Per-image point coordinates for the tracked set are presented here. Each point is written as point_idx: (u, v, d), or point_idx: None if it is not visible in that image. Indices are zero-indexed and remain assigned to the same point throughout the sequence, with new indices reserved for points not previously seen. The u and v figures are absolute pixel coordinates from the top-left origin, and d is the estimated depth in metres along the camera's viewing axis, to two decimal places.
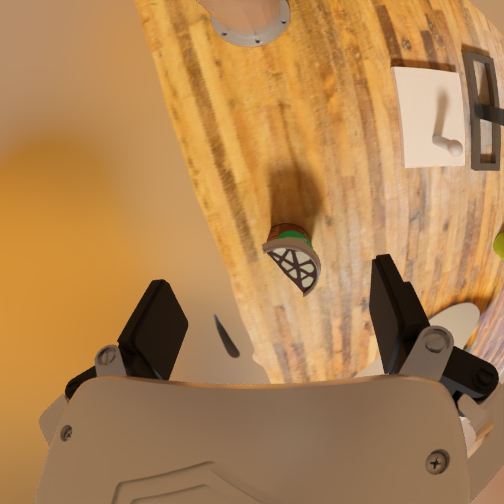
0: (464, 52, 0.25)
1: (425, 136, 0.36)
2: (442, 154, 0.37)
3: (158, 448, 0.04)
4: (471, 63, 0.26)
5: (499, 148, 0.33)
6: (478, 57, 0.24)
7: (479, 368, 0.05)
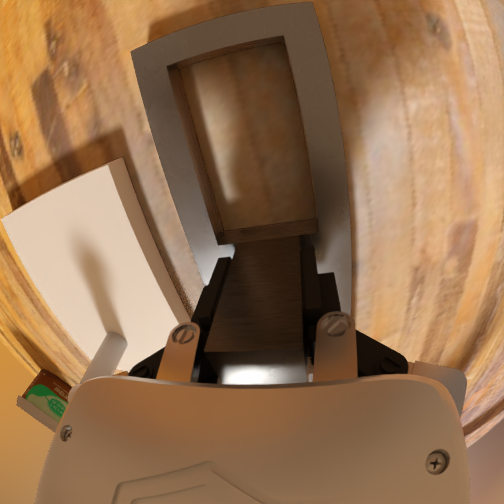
0: None
1: (95, 333, 0.20)
2: None
3: (158, 448, 0.04)
4: (160, 88, 0.10)
5: None
6: (204, 37, 0.08)
7: (387, 358, 0.07)
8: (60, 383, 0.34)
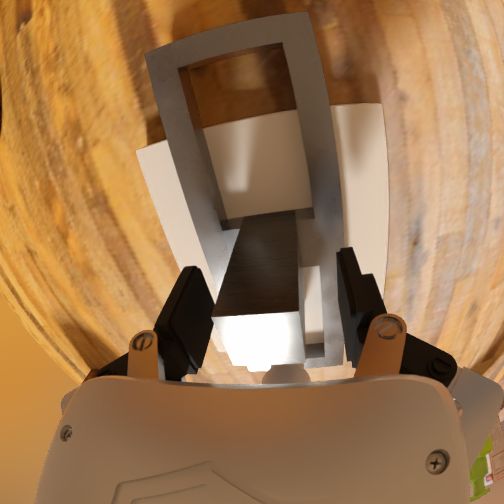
0: None
1: None
2: (310, 330, 0.20)
3: (158, 448, 0.04)
4: (172, 88, 0.11)
5: (340, 328, 0.18)
6: (212, 42, 0.09)
7: (436, 357, 0.06)
8: None
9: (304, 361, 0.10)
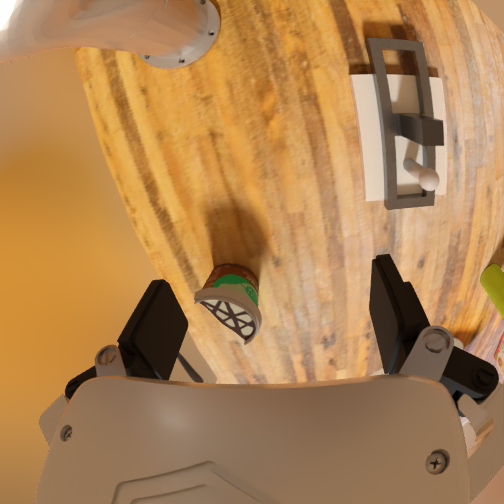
0: (367, 40, 0.23)
1: None
2: (416, 182, 0.33)
3: (158, 448, 0.04)
4: (379, 54, 0.23)
5: None
6: (393, 43, 0.22)
7: (479, 368, 0.05)
8: (249, 273, 0.46)
9: (443, 145, 0.23)
